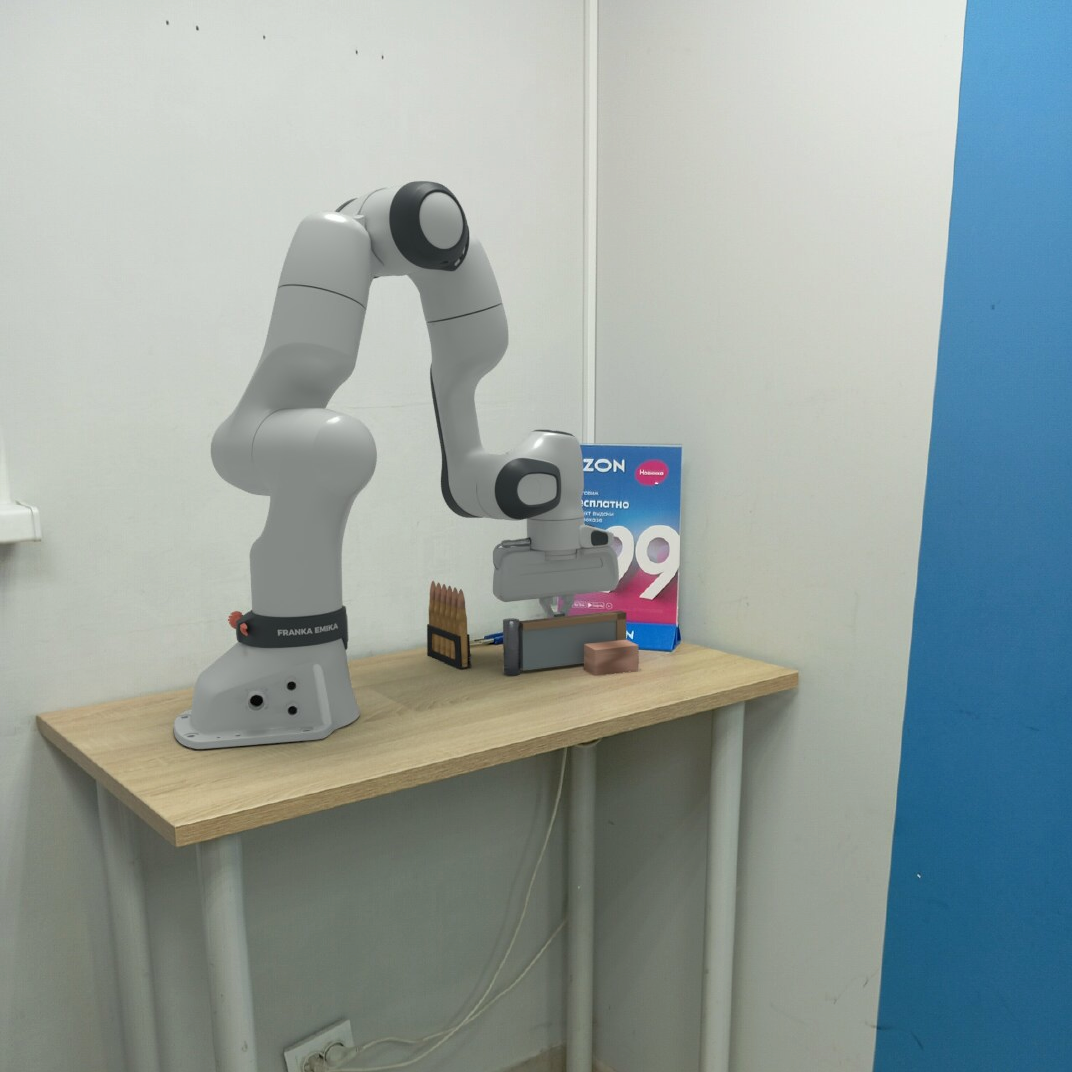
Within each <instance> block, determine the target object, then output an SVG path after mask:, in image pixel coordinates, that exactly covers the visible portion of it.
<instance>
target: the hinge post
mask: <svg viewBox="0 0 1072 1072" xmlns="http://www.w3.org/2000/svg"><path fill="white" fill-rule="evenodd" d="M519 621H520V619H519V618H513V617H512V618H504V619H502V639H503V640H502V641H503V643H502V644H503V645H502V647H503V648H502V651H503V652H502V653H503V654H502V655H503V675H504V676H506V677H517V676H519V675H520V674H521V669H520V630H519Z"/></svg>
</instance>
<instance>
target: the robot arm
mask: <svg viewBox="0 0 1072 1072" xmlns="http://www.w3.org/2000/svg"><path fill="white" fill-rule="evenodd" d="M283 262H284V263H283V265H282V268H281V271H280V275H279V281H278V284H277V289H276V294H275V298H274V301H273V302H274V303H273V307H272V312H271V317H270V321H269V324H268V325H269V326H268V330H267V335H266V339H265V344H264V345H263V346H264V347H263V349H262V353H261V355H260V358H259V360H258V363H257V365H256V368H255V370H254V372H253V374H252V376H251V378H250V380H249V382H248V384H247V386H246V388H245V390H244V392H243V394H242V396H241V398H240V400H239V402H238V403H237V405H236V407H235V408H234V410H233V411H232V412H231V413H230V415H228V416H227V418H226V419H224V421H222V422H221V423H220V424H219V426H218V427H217V428H216V430H215V431H214V434H213V436H212V438H211V443H210V458H211V463H212V465H213V467H214V469H215V471H216V473H217V475H219V477H221V479H223V480H224V481H225V482H226V483H227V484H230V485H231V486H233V487H235V488H237V489H239V490H242V491H244V492H245V493H248V494H251V495H256V496H263V497H265V496H266V497H267V496H268V497H270V499H269V501H270V502H269V507H268V513H267V516H266V521H265V524H264V528H263V530H262V532H261V533H260V535H259V537H258V538H257V539H256V540H255V541H254V542H253V543H252V544H251V546H250V549H249V569H250V586H251V587H250V591H251V608H252V609H250V610H248V612H246V613H244V614H243V612H241V611H237V610H235V611H231V613H230V615H228V618H227V620H228V623H229V625H230V627H231V628H233V629H235V634H236V641H237V642H236V643H235V644H234V645H233V646H232V647H231V648H229V649H228V650H227V651H225V653H223V654H222V655H221V656H220V657H218V659H216V660H215V661H214V662H213V663H211V664H210V665H209V666H208V667H207V668H205V669H204V670H203V671H202V672H201V673H200V674H199V676H198V677H197V678H196V682H195V685H194V689H193V692H192V698H191V699H192V700H191V708H190V709H188V710H185V711H183V712H181V713H180V714H179V715H177V717H176V718H175V720H174V722H173V734H174V737H175V739H176V740H177V741H178V743H180V744H181V745H183V746H184V747H185V746H186V747H188V748H190V749H196V750H205V749H218V748H230V747H240V746H241V747H242V746H243V747H244V746H254V745H265V744H277V743H278V744H279V743H289V742H301V741H303V742H304V741H313V740H315V741H316V740H321V739H324V738H326V737H328V736H330V735H331V734H332V733H333V732H334V731H336V730H337V729H340V728H343V727H345V726H348V725H350V724H351V723H353V722H355V721H356V720H357V719H358V718H359V717H360V715H361V710H360V708H359V706H358V703H357V700H356V697H355V696H356V695H355V693H354V689H353V683H352V680H351V679H352V678H351V676H350V669H349V664H348V657H347V650H348V647H349V646H348V642H349V619H348V614H347V607H346V606H345V605H343V572H342V571H343V569H342V566H343V563H342V560H343V559H342V558H343V557H342V552H343V543H344V536H345V530H346V527H347V523H348V519H349V516H350V513H351V511H352V507H353V505H354V503H355V500H356V498H357V497H358V496H359V494H360V493H361V491H363V489H365V488H366V487H367V486H368V485H369V483H370V481H371V480H372V478H373V476H374V473H375V471H376V467H377V461H378V459H377V458H378V453H377V445H376V442H375V438H374V436H373V434H372V432H371V430H370V429H369V428H368V427H367V426H366V425H365V423H363V422H362V421H361V420H359V419H358V418H356V417H354V416H351V415H348V414H347V413H346V414H345V413H342V412H340V411H336V410H333V409H330V408H327V405H328V404H329V403H330V401H331V399H332V397H333V396H334V394H335V393H336V392H337V390H338V389H339V388H340V387H341V386H342V385H343V384H344V383H345V382H347V381H348V380H349V378H350V377H351V375H352V373H354V370H355V369H356V364H357V360H358V354H359V349H360V345H361V340H362V339H361V338H362V333H363V327H364V323H365V320H366V319H365V318H366V315H367V314H366V313H367V308H368V303H369V296H370V290H371V289H370V288H371V286H372V282H373V280H374V279H378V278H380V277H391V276H392V277H394V276H395V277H403V276H407V277H408V278H409V279H410V280H411V281H412V282H413V284H414V285H415V287H416V289H417V290H418V292H419V297H420V301H421V309H422V312H423V317H424V320H425V323H426V324H425V325H426V329H427V332H428V337H429V342H430V351H431V362H430V368H429V370H430V371H429V379H430V380H429V381H430V390H431V391H430V392H431V397H432V403H433V410H434V415H435V420H436V428H437V434H438V439H439V445H440V446H439V447H440V451H441V471H440V490H441V495H442V497H443V501H444V503H446V506H447V507H448V508H449V509H450V510H451V512H453V513H454V514H456V515H457V516H459V517H462V518H465V519H466V518H467V519H481V518H486V519H494V520H505V521H515V522H516V521H523V520H526V537H525V538H517V539H503V540H501V542H500V543H498V544H497V545H496V546H495V547H494V548H493V551H492V563H493V567H494V569H493V577H492V594H493V596H494V597H495V598H496V599H497V600H499V601H501V602H502V603H503V602H504V603H508V602H509V603H510V602H520V601H529V600H537V599H538V601H539V604H540V606H541V607H542V609H543V611H544V613H545V614H546V617H545V618H553V617H562V616H569V613H570V611H571V609H572V607H573V605H574V604H575V595H583V594H593V593H601V592H602V593H603V592H611V591H615V590H616V589H617V587H618V585H619V583H620V570H619V560H618V554H617V551H616V550H615V548H613V547H612V545H614V543H615V535H614V533H613V532H612V531H609V530H606V529H603V528H599V527H595V525H592V524H588V523H585V512H584V509H583V503H582V498H583V493H584V488H585V482H584V481H585V480H584V479H585V476H584V475H585V474H584V460H583V453H582V452H583V451H582V448H581V445H580V441H579V439H578V438H577V437H576V436H575V435H573V433H569V432H566V431H560V430H551V429H534V430H532V431H530V432H529V434H528V437H527V438H526V439H525V440H524V441H522V443H520V444H519V445H517V446H515V447H514V448H513V449H511V450H509V451H507V452H505V453H504V454H497V453H496V454H494V453H489V452H488V451H487V450H486V449H485V448H484V447H483V444H482V442H481V441H482V440H481V435H480V428H479V422H478V414H477V409H476V403H475V402H476V401H475V393H476V390H477V386H478V384H479V383H480V382H481V380H482V379H483V378H484V377H485V376H486V375H487V374H489V373H490V372H491V371H493V370H494V368H496V366H498V365H499V363H500V362H501V360H502V359H503V357H504V356H505V354H506V351H507V349H508V347H509V339H510V338H509V326H508V320H507V315H506V311H505V307H504V303H503V299H502V297H501V291H500V288H499V285H498V282H497V279H496V276H495V273H494V270H493V267H492V265H491V263H490V260H489V258H488V256H487V253H486V251H485V249H484V246H483V244H482V242H481V241H480V240H479V238H478V237H477V236H476V235H475V234H473V233H471V232H470V228H469V225H468V219H467V217H466V214H465V211H464V209H463V207H462V204H461V203H460V201H459V199H458V198H457V197H456V195H455V194H454V193H453V191H451V190H450V188H448V187H447V186H445V185H443V184H441V183H438V182H436V181H429V180H428V181H427V180H419V181H418V180H415V181H411V182H407V183H406V184H403V185H402V184H401V185H396V186H390V187H381V188H379V189H375V190H371V191H370V192H368V193H366V194H363V195H361V196H359V197H356V198H355V197H354V198H352V199H350V200H347V201H345V202H344V203H343V204H341V205H340V206H339V207H337V209H336V210H334V211H332V210H327V211H326V210H323V211H316V212H312V213H310V214H308V215H307V216H306V217H304V218H303V219H302V220H301V221H300V222H299V224H298V226H297V228H296V231H295V233H294V235H293V237H292V240H291V242H290V245H289V247H288V250H287V252H286V256H285V259H284V261H283ZM554 597H555V598H557V597H560V600H561V601H563V602H562V604H561V606H560V609H559V610H557V611H554V610H553V608H552V607H551V605H552V604H554Z"/></svg>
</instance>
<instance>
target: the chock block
mask: <svg viewBox="0 0 1072 1072" xmlns="http://www.w3.org/2000/svg"><path fill="white" fill-rule="evenodd" d="M639 647H640V646H639V644H637V643H634V642H632V641H630V640H629V639H626V640H618V641H608V642H599V643H589V644H584V663H583V670H585V671H586V670H587V671H586V672H588V673H589V672H590V673H589V674H591V675H592V676H595V677H598V676H604V675H606V674H608V675H614V674H615V673H616V674H624V673H623V672H625V673H631V672H632V671H633V672H639V662H640V661H639V658H640V657H639V655H640V654H639V651H640V650H639ZM629 671H631V672H629ZM633 672H632V673H633Z"/></svg>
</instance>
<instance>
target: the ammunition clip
mask: <svg viewBox="0 0 1072 1072" xmlns="http://www.w3.org/2000/svg"><path fill="white" fill-rule="evenodd" d="M452 589H453V590H452ZM458 591H459V592H458ZM465 599H466V598H465V595H464V592H463V590H462V588H460V589H459V590H458V589H457V587H454V588H452V587H451V585H448V587H447V586H446V584H445V583H444V584H442V585H441V583H440V582H437V583H435V581H434V580H432V581H431V584H430V587H429V604H428V623H427V624H426V639H427V640H426V649H427V650H426V651H427V652H426V656H427V657H429V658H431V659H434V660H436V661H439V662H441V663H443V664H446V665H448V666H451V667H453V668H455V669H457V670H461V671H462V670H466V669H470V668H471V665H472V664H471V644H470V643H471V641H470V640H471V639H470V638H471V637H470V634H469V633H468V617H467V616H468V615H467V611H466V601H465Z"/></svg>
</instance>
